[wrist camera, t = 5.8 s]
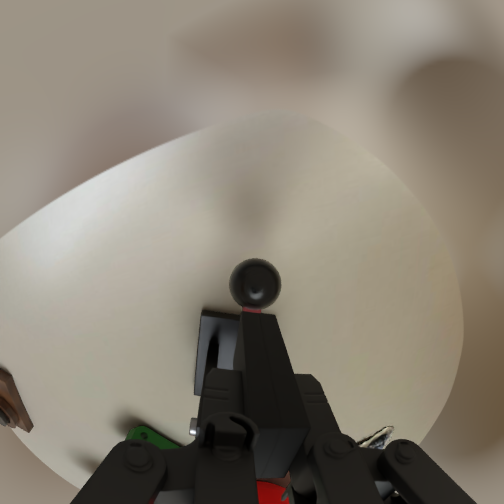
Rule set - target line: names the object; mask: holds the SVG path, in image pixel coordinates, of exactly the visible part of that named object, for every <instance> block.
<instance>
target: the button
mask: <svg viewBox="0 0 504 504" xmlns="http://www.w3.org/2000/svg"><path fill="white" fill-rule="evenodd" d="M9 421H10V420H9V418H8V416H7V415H6V414H5V413H4V412H3V411H2V410H1V409H0V424H1V425H3V426H6V425H7V424H8V422H9Z"/></svg>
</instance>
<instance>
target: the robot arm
mask: <svg viewBox="0 0 504 504" xmlns="http://www.w3.org/2000/svg"><path fill="white" fill-rule="evenodd" d="M327 401H328V400H327V398H326V396H325V395H324V391H323V389H322V386H321V384H320V382H318V381H317V380H316V379H315V378H314V377H313V376H312V375H311V374H294V372H293V369H292V366H291V363H290V359H289V356H288V353H287V350H286V347H285V344H284V341H283V338H282V335H281V331H280V328H279V325H278V322H277V319H276V316H275V315H272V314H263V313H255V312H247V311H241V317H240V323H239V329H238V334H237V340H236V346H235V351H234V357H233V370H228V369H220V368H212V369H211V371H210V372H209V373H208V374H207V375H206V380H205V389H204V397H203V406H202V416H201V425H200V431H199V435H198V436H197V438H196V439H195V440H194V441H193V442H192V443H190V444H189V445H186V446H184V447H180V448H173V449H160V448H159V447H158V446H156V445H154V444H153V443H151V442H149V441H145V440H141V439H128V440H125V441H122V442H119V443H118V444H117V445H116V446H115V447H113V449H112V450H111V451H110V453H109V454H108V455H107V456H106V458H105V459H104V460H103V462H102V463H101V464H100V466H99V467H98V468H97V469H96V471H95V472H94V473H93V475H92V476H91V477H90V479H89V480H88V481H87V482H86V484H85V485H84V486H83V488H82V489H81V490H80V491H79V493H78V494H77V495H76V497H75V498H74V499H73V500H72V502H71V503H70V504H259V499H258V490H257V480H256V478H284V477H285V476H286V474H287V472H288V470H289V472H290V477H291V482H290V484H289V485H288V487H287V488H286V490H285V491H284V493H283V494H282V496H281V501H285V499H286V498H287V497H288V498H289V504H477V503H476V502H475V501H474V500H473V499H472V498H470V496H468V494H467V493H465V492H464V491H463V490H462V489H461V488H460V487H459V486H458V485H457V484H456V483H455V482H454V481H453V480H452V479H451V478H450V477H449V476H448V475H447V474H446V473H445V472H444V471H443V470H442V469H441V468H440V467H439V466H438V465H437V464H436V463H435V462H434V461H433V460H432V459H431V458H430V457H429V456H428V455H427V454H426V453H425V452H424V451H423V450H422V449H421V448H420V447H419V446H418V445H417V444H415V443H414V442H412V441H409V440H406V439H398V440H394V441H392V442H391V443H389V444H388V445H387V446H386V448H385V449H374V448H364V447H360V446H358V445H357V443H356V442H355V440H354V439H352V438H351V437H349V436H348V435H345V434H342V433H341V431H340V429H339V427H338V424H337V422H336V419H335V417H334V415H333V412H332V410H331V408H330V405H329V403H327ZM395 491H397V492H398V493H399V494H397V493H395Z"/></svg>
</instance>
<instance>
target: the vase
mask: <svg viewBox="0 0 504 504" xmlns="http://www.w3.org/2000/svg"><path fill="white" fill-rule="evenodd" d="M257 490H258V499H259V504H289V498H288V497H287V498H286V499H285V501H281V496H282V494H283V493H284V491H285V490H286V488H283V487H281V486H279V485H276V484H273V483H269V482H263V481H257Z"/></svg>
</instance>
